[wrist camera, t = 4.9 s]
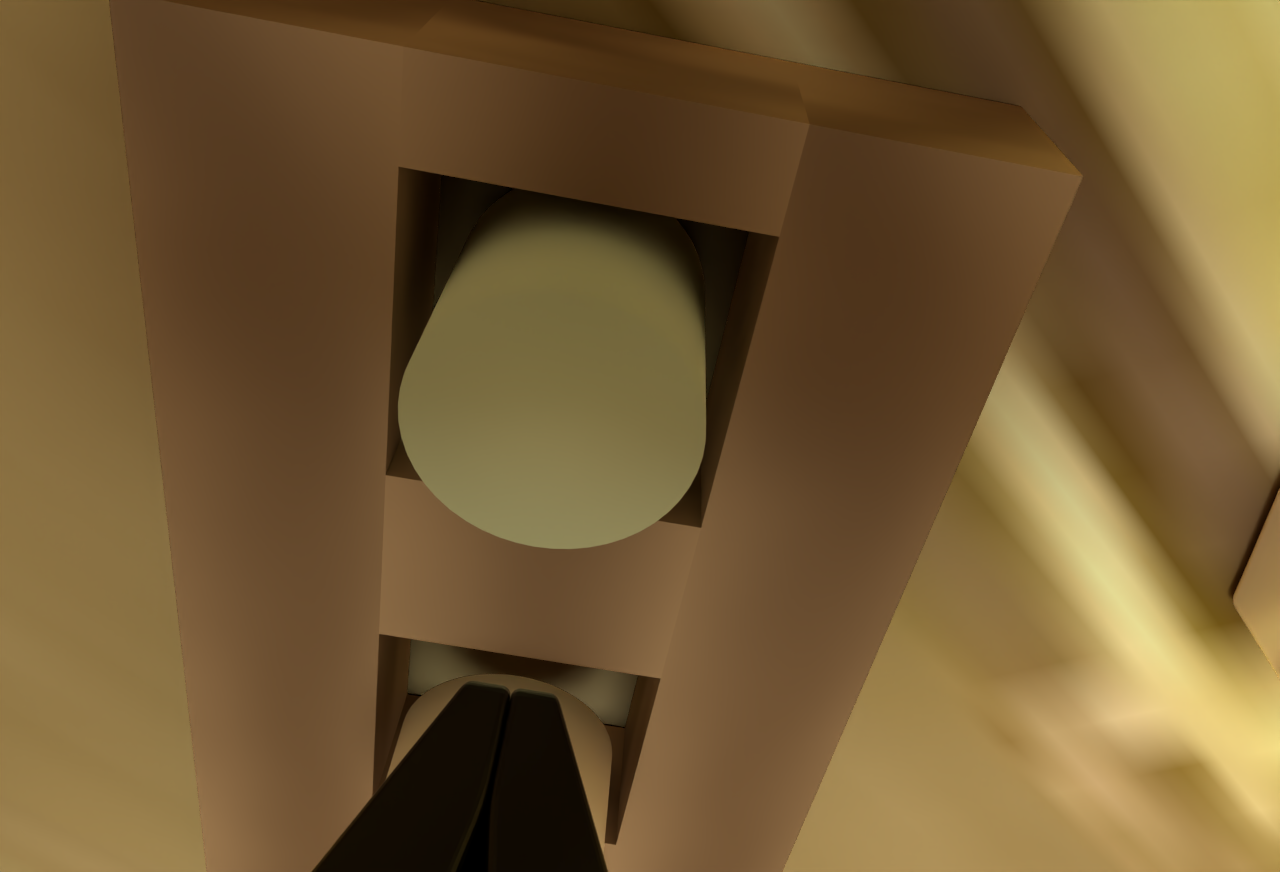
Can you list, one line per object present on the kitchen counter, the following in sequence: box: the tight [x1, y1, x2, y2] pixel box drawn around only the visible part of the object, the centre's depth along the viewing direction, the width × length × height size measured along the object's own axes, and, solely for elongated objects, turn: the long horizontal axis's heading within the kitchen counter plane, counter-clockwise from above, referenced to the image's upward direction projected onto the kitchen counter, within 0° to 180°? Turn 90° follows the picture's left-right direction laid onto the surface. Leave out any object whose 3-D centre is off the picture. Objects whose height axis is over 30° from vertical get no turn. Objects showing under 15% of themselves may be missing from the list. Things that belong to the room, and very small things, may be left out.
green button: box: [398, 188, 706, 549], centre depth 15 cm, size 4×4×4 cm
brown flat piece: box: [109, 0, 1083, 872], centre depth 21 cm, size 12×25×3 cm, turn 170°
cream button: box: [386, 674, 612, 855], centre depth 18 cm, size 4×4×4 cm
